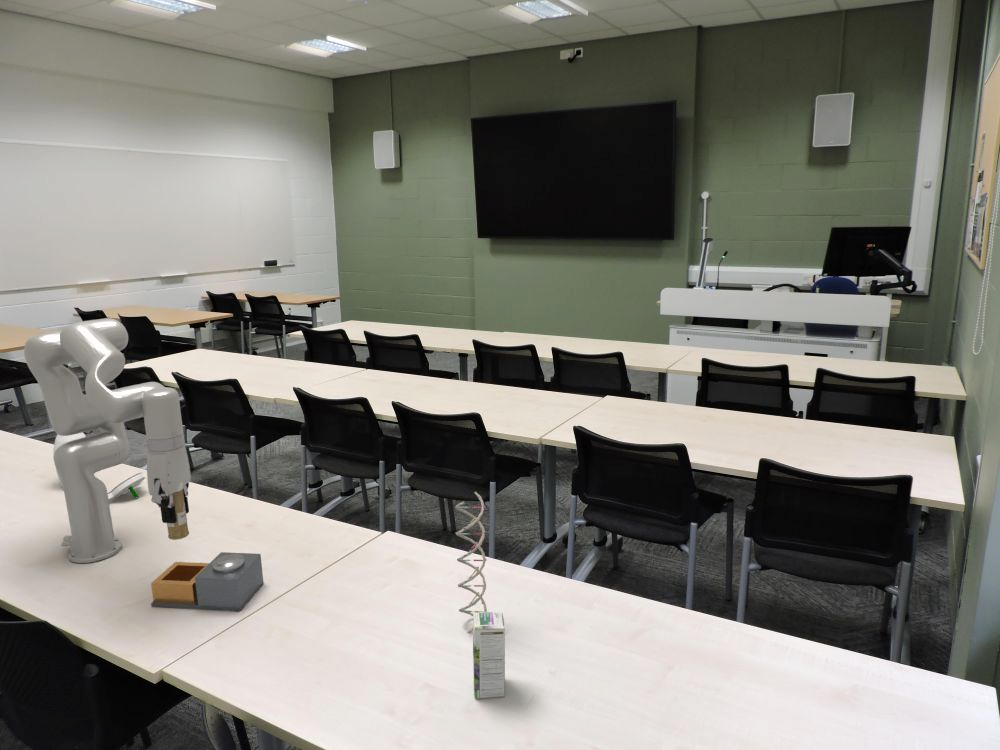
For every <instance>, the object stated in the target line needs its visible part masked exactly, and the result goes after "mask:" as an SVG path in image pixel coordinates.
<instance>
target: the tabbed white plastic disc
mask: <svg viewBox="0 0 1000 750" xmlns="http://www.w3.org/2000/svg"><path fill="white" fill-rule="evenodd" d="M145 479H146V476H145V475H144V473H143V472H138V473H135V474H134V475H132V476H130V477H129V478H126V479H125V480H124V481H122V482H120V483H119V484H117V485H116V486H115V487H114V488H112V490H110V491H108V492H107V494H108V500H109V501H110V500H114V499H113V498H115V497H117V496H119V495H121V494H123V493H125V492H126V493H128V492H130V493H131V494H132V496H133V497H134V498H135V497H138V498H139V497H140V495H139V494H138V493H137V491H136V490H135V488H136V487H139V486H141V485H142V484H143V483H144V480H145ZM129 490H130V491H129ZM127 491H128V492H127ZM126 493H125V494H126ZM123 495H124V494H123ZM121 496H122V495H121ZM119 497H120V496H119ZM117 498H118V497H117ZM115 499H116V498H115Z"/></svg>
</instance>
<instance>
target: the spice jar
mask: <svg viewBox="0 0 1000 750" xmlns="http://www.w3.org/2000/svg"><path fill="white" fill-rule="evenodd" d="M163 493H165V491H163ZM164 499H166V500H167V501H168V497H164ZM173 506H175V511H176V519H177V522H176V523H166V527H167V534H168V535H167V537H168V539H169V540H172V541H177V540H182V539H184V538H186V537H188V536H189V534H190V531H189V528H188V527H189V526H188V517H187V514H186V508H185V502H184V496H183V483H182V482H181V483H180V484H179V487H178V490H177V491H176V492H174V493H173Z"/></svg>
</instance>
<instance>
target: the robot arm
mask: <svg viewBox="0 0 1000 750" xmlns="http://www.w3.org/2000/svg"><path fill="white" fill-rule="evenodd" d="M128 342H129V333H128V331H127V329H126V327H125V326H124V324H123V323H122V322H121V321H119V320H117V319H115V318H111V317H105V318H99V319H90V320H83V321H77V322H73V323H71V324H68V325H66V326H65V327H63V329H59V330H51V331H46V332H42V333H38V334H35V335H33V336H31V337H29V338H28V339H27V340H26V341H25V343H24V347H23V353H24V354H23V355H24V358H25V362H26V365H27V367H28V369H29V371H30V372H31V374H32V375H33V377H34V378H35V380H36V381H37V383H38V386H39V387H40V390H41V394H42V397H43V402H44V405H45V408H46V413H47V415H48V418H49V421H50V424H51V427H52V429H53V431H54V433H56V435H57V434H58V435H61V436H68V435H74V434H78V433H82V432H83V433H86V432H90V431H93V430H94V431H95V430H97V429H98V430H99V432H100V433H96V434H93V435H87V436H86V437H83V438H80V439H76V440H72V441H69V442H67V443H64V444H63V445H61V446H60V447H58V448H57V449H56V451H55V453H54V458H53V462H55V463H54V466H55V465H56V467H55V469H56V468H57V470H58V473H59V476H60V478H61V481H62V485H63V488H62V489H63V493H64V499H65V503H66V504H65V505H66V511H67V516H68V522H69V527H70V533H71V534H70V535H69V534H68V535H64V536H63V538H62V541H61V544H60V545H61V547H69V549H70V550H69V551H68V553H67V557H68V560H69V561H70V562H72V563H75V564H76V563H77V564H89V563H94V562H99V561H102V560H105V559H108V558H110V557H112V556H115V555H116V554H117V553H118V552H120V551H121V549H122V548H123V542H122V541H121V540H120V539H118V538H116V537H115V533H114V527H113V521H112V520H113V519H112V515H111V514H112V513H111V508H110V502H109V501H110V500H108V494H107V493H108V490H107V489H108V488H107V485H106V484H105V483H104V482H103V481H102V480H101V479H99V478H98V477H96V476H95V473H98V472H101V471H102V470H106V469H109V468H112V467H115V466H119V465H121V464H123V463H126V462H127V461H128V459H129V458H130V455H131V449H130V443H129V439H128V435H127V431H126V428H125V422H129V421H133V420H137V419H141V418H143V421H144V423H143V424H144V429H145V435H146V436H145V437H146V443H147V450H148V453H147V457H146V475H147V478H146V479H147V488H148V494H149V495H150V496H151V499H150V500H151V502H152V503H154V504H156V505H157V506H158V508H160V509H159V510H160V516H161V521H162V524H167V523H176V522H177V519H176V511H175V506H173V493H174V492H176V491H177V490H178V487H179V484H180V483H181V482H182V483H183V496H184V502H185V508H186V515H188V514H189V513H190V508H189V501H188V496H189V490H188V489H189V486H190V482H191V481H192V475H191V467H190V461H189V456H188V453H187V448H186V444H185V435H184V428H183V427H184V426H183V420H182V413H181V404H180V403H181V402H180V396H179V393H178V391H177V389H175V388H173V387H165V386H164V385H163V384H161V383H160V382H158V381H157V382H156V381H149V382H148V381H147V382H142V383H139V384H133V385H128V386H123V387H120V388H119V387H118V388H115V389H110V388H109V387H108V386H106V385H107V384H109V383H110V382H112V381H113V380H114V379H116V378H117V377H118V376H119V375H120V374H121V373H122V372H123V370H124V368H125V365H126V358H125V355H124V354H123V353H122V352H121V351H123V350H124V349H125V348H126V347H127V345H128ZM70 363H72V364H73V363H77V364H78V365H79V366H80V367H81V369H83V371H84V372H86V377H85V380H84V381H85V382H84V389H85V393H83V391H82V387H81V383H80V380H79V378H78V376H77V375H76V374H75V373H74V372H73V371H71V370H70V368H67V367H66V366H65V365H66V364H70ZM64 364H65V365H64ZM163 491H165V493H163ZM164 497H168V501H167V500H166V499H164Z"/></svg>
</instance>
